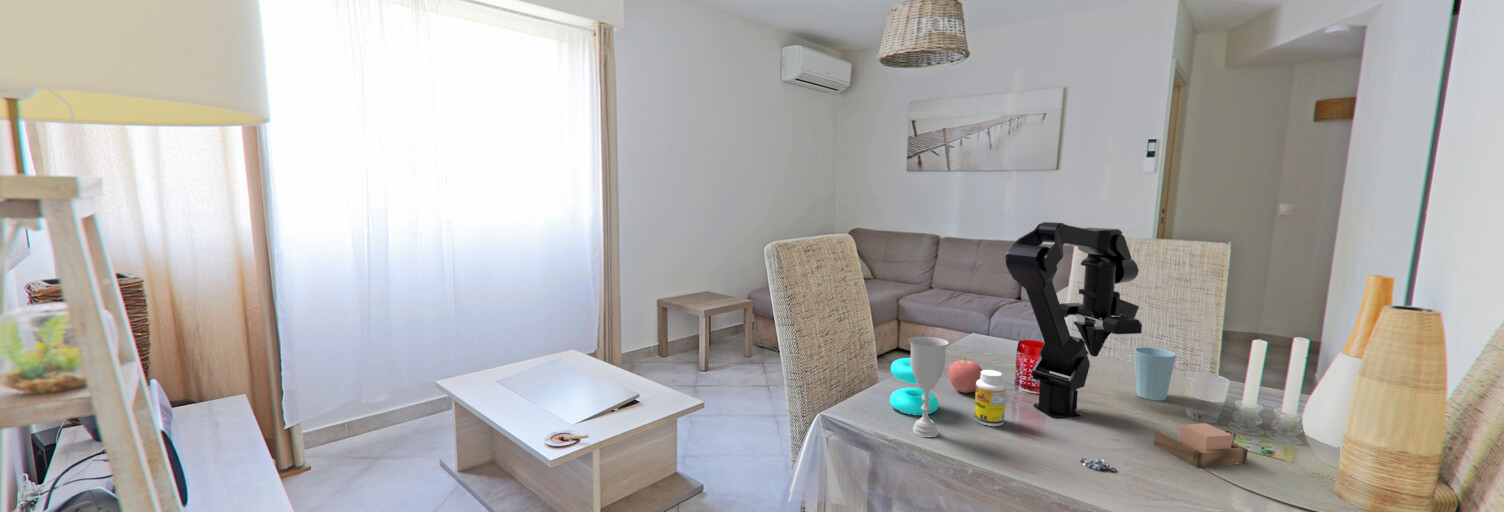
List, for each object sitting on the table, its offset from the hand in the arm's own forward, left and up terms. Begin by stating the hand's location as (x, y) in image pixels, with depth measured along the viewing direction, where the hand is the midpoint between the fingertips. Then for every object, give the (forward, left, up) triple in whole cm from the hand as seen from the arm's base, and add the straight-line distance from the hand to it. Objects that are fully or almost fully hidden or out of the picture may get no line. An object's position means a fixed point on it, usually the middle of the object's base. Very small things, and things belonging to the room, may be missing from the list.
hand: (1093, 356), depth 127 cm
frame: (0, -26, -10) cm, 28 cm away
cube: (0, -27, -10) cm, 29 cm away
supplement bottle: (-29, -8, -10) cm, 32 cm away
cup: (+15, 0, -10) cm, 18 cm away
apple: (-25, +9, -10) cm, 28 cm away
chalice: (-44, -11, -10) cm, 47 cm away
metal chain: (-21, -28, -11) cm, 36 cm away
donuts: (-41, +1, -10) cm, 42 cm away
